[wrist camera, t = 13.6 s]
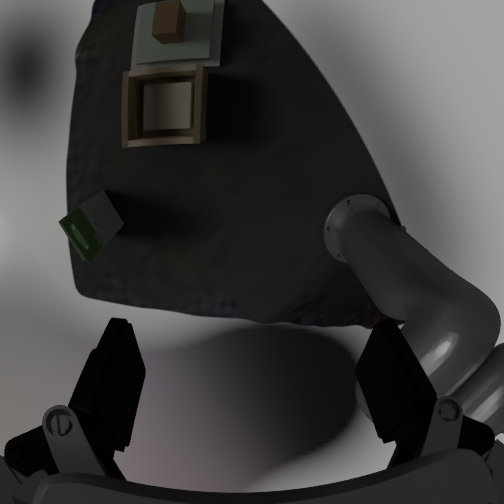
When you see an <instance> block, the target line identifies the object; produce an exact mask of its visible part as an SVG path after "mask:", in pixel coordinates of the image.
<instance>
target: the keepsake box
mask: <svg viewBox="0 0 504 504" xmlns="http://www.w3.org/2000/svg"><path fill="white" fill-rule="evenodd" d="M208 75H209V73H208V71H207V70H206V68H205V66H204V65H203V64H190V65H175V66H164V67H154V68H146V69H139V70H132V71H126V72H123V84H122V148H124V147H135V146H149V145H166V144H200V143H201V142H203V141H204V140H206V122H207V95H208Z"/></svg>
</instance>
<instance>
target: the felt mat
mask: <svg viewBox="0 0 504 504" xmlns="http://www.w3.org/2000/svg"><path fill="white" fill-rule="evenodd" d="M224 3H225V0H215V4H214V14H213V24H212V35H211V48H210V60H186V61H171V62H161V63H152V64H144V65H137V64H135V63H136V52H137V42H138V33H139V26H140V19H141V12H142V6H138V11H137V17H136V24H135V32H134V41H133V51H132V63H131V71H132V70H139V69H146V68H154V67H164V66H175V65H190V64H203V65H204V66H205V67H220V53H221V39H222V26H223V14H224Z"/></svg>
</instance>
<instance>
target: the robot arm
mask: <svg viewBox="0 0 504 504" xmlns="http://www.w3.org/2000/svg"><path fill="white" fill-rule="evenodd" d="M348 200H349V201H348ZM347 201H348V202H347ZM328 227H329V228H328ZM323 240H324V243H325V246H326V248H327V249H328V251H329V252H330V253H331V255H332V256H333V257H335V258H336V259H337V260H340V261H342V262H346V263H348V264H349V265H350V267H351V268H352V270H353V271H354V273H355V274H356V276H357V277H358V279H359V280H360V282H361V283H362V285H363V286H364V288H365V289H366V291H367V292H368V294H369V295H370V297H371V298H372V300H373V301H374V303H375V304H376V306H377V307H378V309H379V310H380V311H381V312H383V313H384V314H385V315H387V316H389V317H391V318H394V319H398V320H407V321H406V322H405V324H404V325H403V327H402V328H401V329H399V327H398V326H397V324H396V322H395V321H394V320H392V319H389V320H380V321H379V322H378V323H377V324H376V325H375V326H374V327H373V330H372V332H371V335H370V337H369V339H368V342H367V344H366V346H365V348H364V350H363V353H362V355H361V357H360V359H359V361H358V363H357V365H356V368H355V374H356V377H357V379H358V381H357V384H356V398H357V401H358V403H359V406H360V408H361V409H362V411H363V412H364V413H365V415H366V416H367V417H368V418H369V419H370V420H371V421H372V422H373V423H374V426H375V429H376V432H377V435H378V437H379V438H381V439H382V440H383V443H388V442H392V441H395V442H396V445H397V446H396V448H395V451H394V453H393V455H392V457H391V460H390V462H389V464H388V467H387V469H385V470H382V471H379V472H376V473H372V474H369V475H365V476H361V477H357V478H353V479H349V480H345V481H340V482H336V483H331V484H325V485H320V486H314V487H308V488H300V489H292V490H283V491H271V492H252V493H219V492H200V491H188V490H179V489H171V488H163V487H157V486H151V485H145V484H139V483H134V482H130V481H127V480H126V479H125V477H124V475H123V474H122V472H121V471H120V469H119V468H118V466H117V464H116V463H115V461H114V459H113V457H114V452H115V450H117V451H121V452H124V449H125V446H126V447H127V446H129V444H130V440H131V435H132V430H133V425H134V421H135V416H136V411H137V408H138V403H139V399H140V395H141V391H142V387H143V383H144V379H145V374H146V370H145V366H144V363H143V360H142V357H141V353H140V350H139V347H138V344H137V341H136V337H135V334H134V331H133V327H132V324H131V323H128V322H127V320H126V319H121V318H111V319H110V321H109V323H108V325H107V327H106V329H105V331H104V333H103V335H102V337H101V339H100V341H99V343H98V346H97V348H96V349H93V350H92V351H91V353H90V355H89V357H88V359H87V361H86V364H85V366H84V368H83V371H82V373H81V375H80V377H79V380H78V382H77V385H76V387H75V389H74V392H73V394H72V397H71V399H70V402H69V404H68V407H66V406H64V405H57V406H53V407H51V408H49V409H48V410H47V411H46V412H45V414H44V417H43V421H42V425H41V426H39V427H37V428H35V429H32V430H30V431H28V432H26V433H23V434H21V435H19V436H17V437H14V438H12V439H11V440H9V441H8V442H7V444H6V446H5V449H4V455H5V456H4V457H2V456H1V455H0V504H504V444H503V443H502V442H500V441H499V440H498V439H497V440H496V441H495V436H497V435H498V434H500V433H503V434H504V343H501V344H499V345H497V346H495V343H496V341H497V339H498V336H499V333H500V326H501V322H500V321H501V320H500V315H499V312H498V309H497V307H496V306H495V304H494V303H493V302H492V300H491V299H490V298H489V297H488V296H487V295H486V294H484V293H483V292H482V291H481V290H480V289H478V288H477V287H475V286H474V285H472V284H471V283H469V282H468V281H466V280H465V279H463V278H462V277H460V276H459V275H457V274H456V273H454V272H453V271H452V270H450V269H449V268H447V266H445V265H444V264H443V263H442V262H440V261H439V260H438V259H437V258H436V257H435V256H433V255H432V254H431V253H430V252H429V251H428V250H427V249H425V248H424V247H423V246H422V245H421V244H419V243H418V242H417V241H416V240H415V239H414V238H413V237H411V236H410V235H409V234H408V233H407V232H406V228H405V227H404V226H398V225H397V224H396V223H394V222H393V221H392V220H391V219H390V215H389V212H388V209H387V207H386V206H385V205H384V203H383V202H382V201H381V200H379V199H378V198H376V197H375V196H373V195H370V194H367V193H354V194H351V195H347V196H346V197H344V198H342V199H340V200H339V201H338V202H337V203H335V205H334V206H333V207H332V208H331V209H330V211H329V212H328V214H327V216H326V218H325V221H324V225H323ZM494 346H495V347H494Z"/></svg>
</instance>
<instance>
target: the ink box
mask: <svg viewBox="0 0 504 504" xmlns="http://www.w3.org/2000/svg"><path fill="white" fill-rule="evenodd" d="M59 224H60V225H61V227H62V228H63V230H64V232H65V233H66V235H67V237H68V238H69V240H70V241H71V243H72V244H73V246H74V247H75V249H76V250H77V252H78V253H79V255H80V256H81V258H82V259H83V261H85V260H87V262H88V263H89V264H90V263H91V261H92V260H93V258H94V257H95V256H96V254H97V253H98V252H100V251H101V250H102V249H103V248H104V247H105V246H106V244H107V243H108V242H109V241H110V240H111V239H112V237H113V236H114V235H115V234H116V233H117V232H118V231H119V230H120V228H121V227H122V226H123V225H124V223H123V221H122V219H121V218H120V216H119V215H118V213H117V211H116V210H115V208H114V206H113V205H112V203H111V202H110V200H109V198H108V197H107V195H106V193H105V191H104V190H102V191H101V192H99V193H98V194H96V195H95V196H93V197H92V198H90V199H89V200H87V201H86V202H84V203H83V204H81V205H80V206H79V207H77V208H76V209H75V210H73V211H72V212H70V213H69V214H68V215H67V216H65V217H64V218H63V219H61V220H60V221H59Z"/></svg>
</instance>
